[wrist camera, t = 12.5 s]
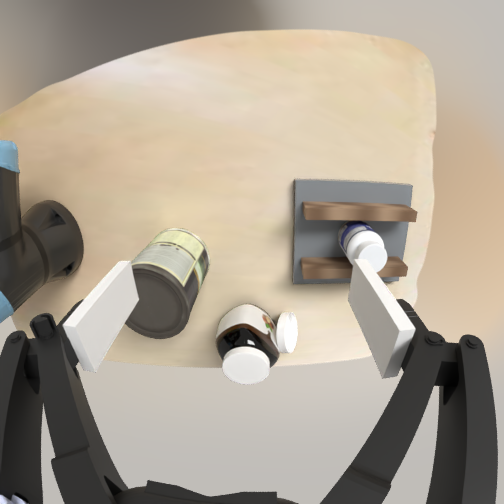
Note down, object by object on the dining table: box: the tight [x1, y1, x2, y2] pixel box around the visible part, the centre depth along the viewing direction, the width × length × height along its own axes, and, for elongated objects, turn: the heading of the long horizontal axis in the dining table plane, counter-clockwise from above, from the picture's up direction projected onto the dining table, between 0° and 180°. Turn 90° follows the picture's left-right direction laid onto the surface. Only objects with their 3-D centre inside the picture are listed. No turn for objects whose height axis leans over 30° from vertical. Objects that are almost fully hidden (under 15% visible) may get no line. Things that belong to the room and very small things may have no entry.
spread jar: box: [216, 304, 298, 384], centre depth 44 cm, size 12×11×12 cm
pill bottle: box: [338, 220, 387, 273], centre depth 37 cm, size 5×5×9 cm
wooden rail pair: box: [301, 201, 417, 279], centre depth 39 cm, size 16×10×4 cm, turn 92°
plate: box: [293, 179, 413, 284], centre depth 41 cm, size 18×16×1 cm
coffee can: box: [125, 228, 210, 339], centre depth 39 cm, size 10×10×14 cm
